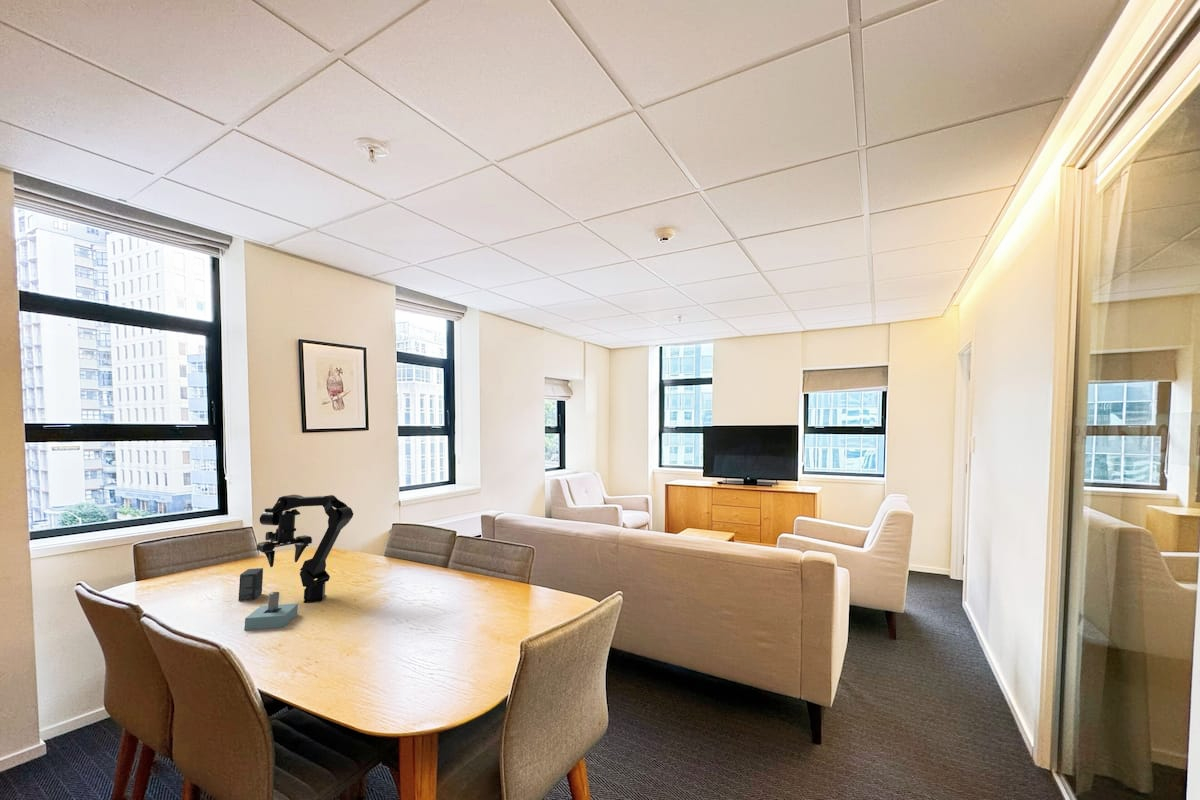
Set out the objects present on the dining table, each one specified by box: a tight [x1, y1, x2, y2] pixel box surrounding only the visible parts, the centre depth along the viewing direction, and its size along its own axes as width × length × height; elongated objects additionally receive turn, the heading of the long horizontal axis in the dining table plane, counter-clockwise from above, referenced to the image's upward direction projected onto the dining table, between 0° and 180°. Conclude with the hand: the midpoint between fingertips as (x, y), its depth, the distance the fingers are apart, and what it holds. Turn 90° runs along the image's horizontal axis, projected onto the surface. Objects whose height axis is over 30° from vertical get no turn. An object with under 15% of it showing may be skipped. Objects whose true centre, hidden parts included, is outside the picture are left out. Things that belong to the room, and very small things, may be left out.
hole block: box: [243, 603, 299, 631], centre depth 167 cm, size 12×12×4 cm
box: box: [238, 567, 264, 602], centre depth 191 cm, size 8×6×11 cm
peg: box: [267, 591, 280, 613], centre depth 167 cm, size 3×3×10 cm
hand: (283, 564), depth 193 cm, fingers open, 9 cm apart
